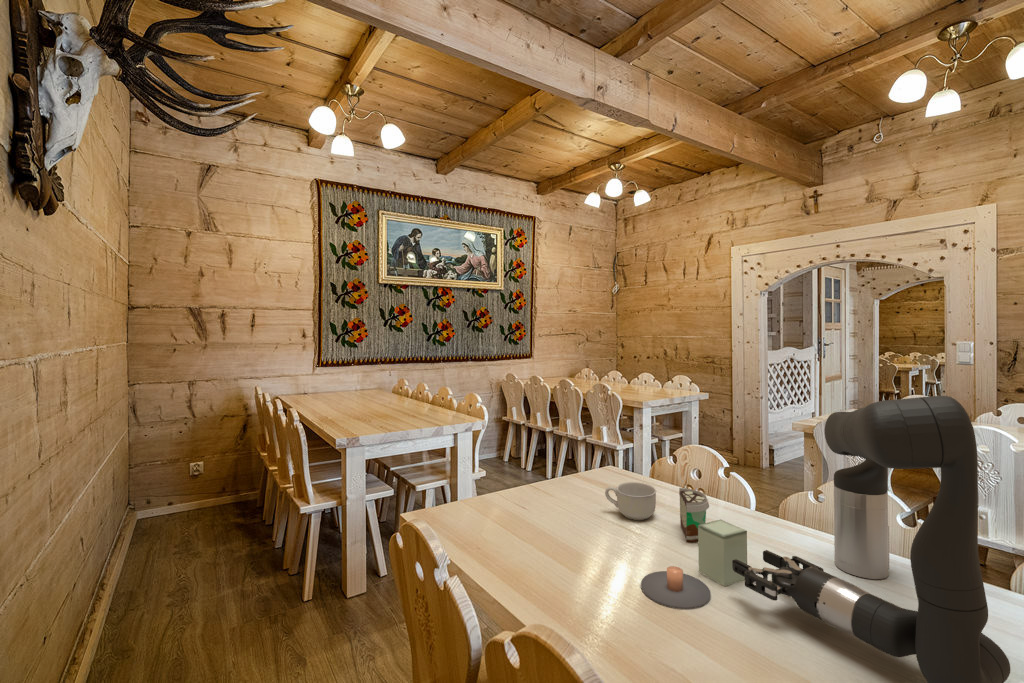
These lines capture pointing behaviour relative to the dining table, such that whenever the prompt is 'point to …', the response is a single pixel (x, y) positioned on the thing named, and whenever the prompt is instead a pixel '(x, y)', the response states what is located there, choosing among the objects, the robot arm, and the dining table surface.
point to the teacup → (634, 499)
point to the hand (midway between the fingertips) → (749, 559)
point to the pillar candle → (674, 578)
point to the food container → (692, 512)
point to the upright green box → (721, 550)
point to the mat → (688, 598)
